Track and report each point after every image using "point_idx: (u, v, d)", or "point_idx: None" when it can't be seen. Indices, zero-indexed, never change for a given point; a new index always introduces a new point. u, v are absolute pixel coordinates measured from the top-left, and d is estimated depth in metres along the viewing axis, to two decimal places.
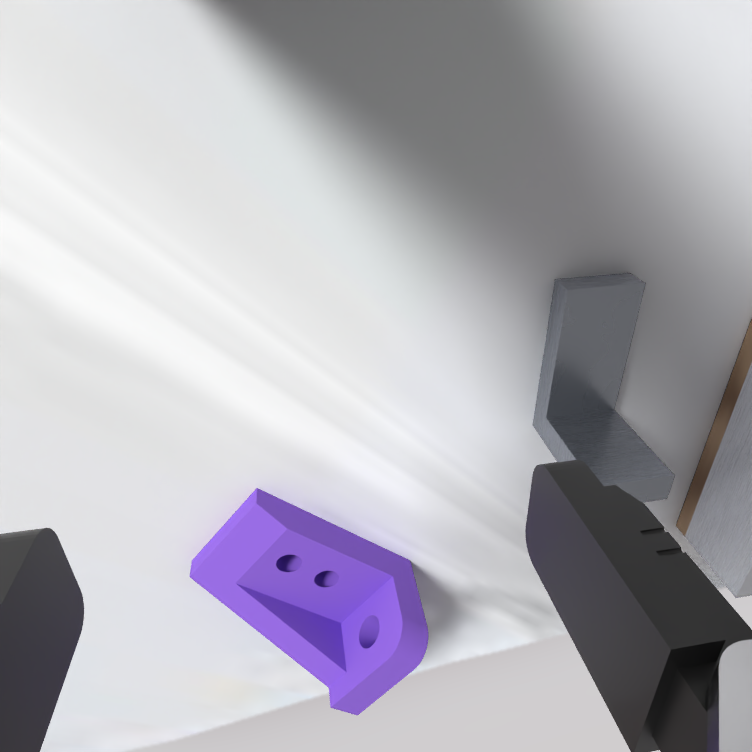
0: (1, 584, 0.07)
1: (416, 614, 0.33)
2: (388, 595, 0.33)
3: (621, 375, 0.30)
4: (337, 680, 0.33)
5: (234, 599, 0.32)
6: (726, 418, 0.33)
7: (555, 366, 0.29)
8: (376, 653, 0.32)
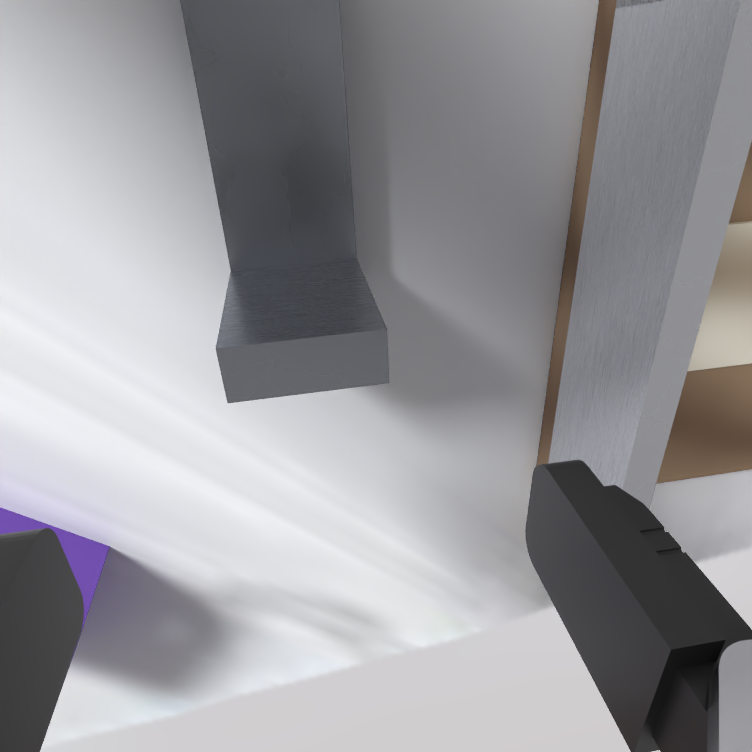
0: (1, 584, 0.07)
1: None
2: None
3: (351, 187, 0.17)
4: None
5: None
6: (569, 295, 0.20)
7: (214, 162, 0.16)
8: None
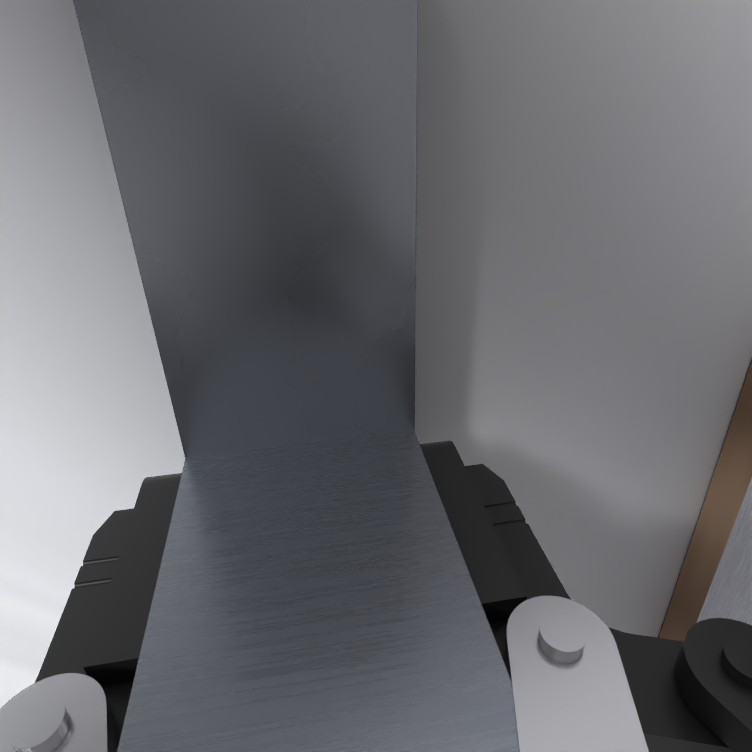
0: (167, 514, 0.08)
1: None
2: None
3: (414, 315, 0.09)
4: None
5: None
6: (747, 463, 0.13)
7: (148, 275, 0.08)
8: None
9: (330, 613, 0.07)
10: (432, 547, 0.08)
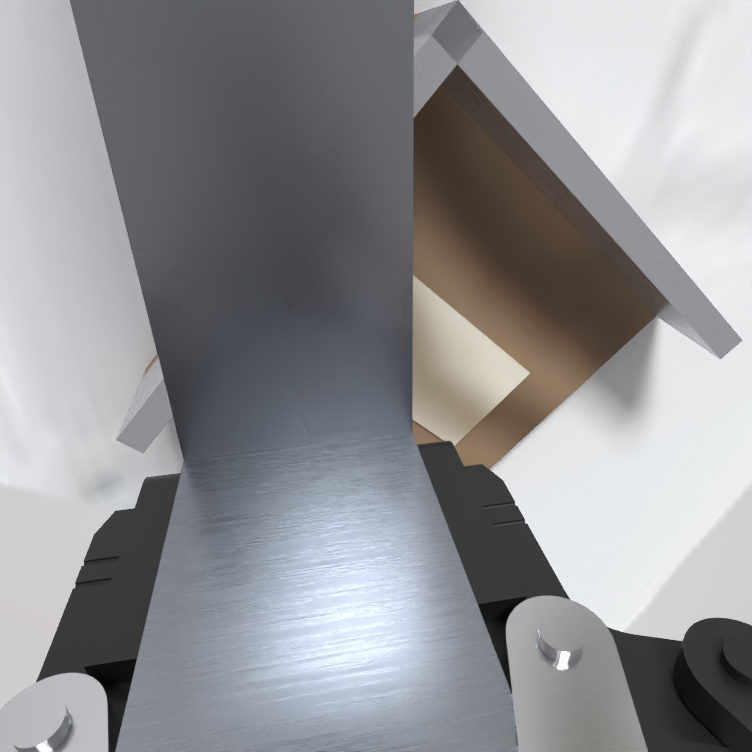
0: (168, 514, 0.08)
1: None
2: None
3: (411, 317, 0.09)
4: None
5: None
6: None
7: (146, 278, 0.08)
8: None
9: (328, 615, 0.07)
10: (429, 548, 0.08)
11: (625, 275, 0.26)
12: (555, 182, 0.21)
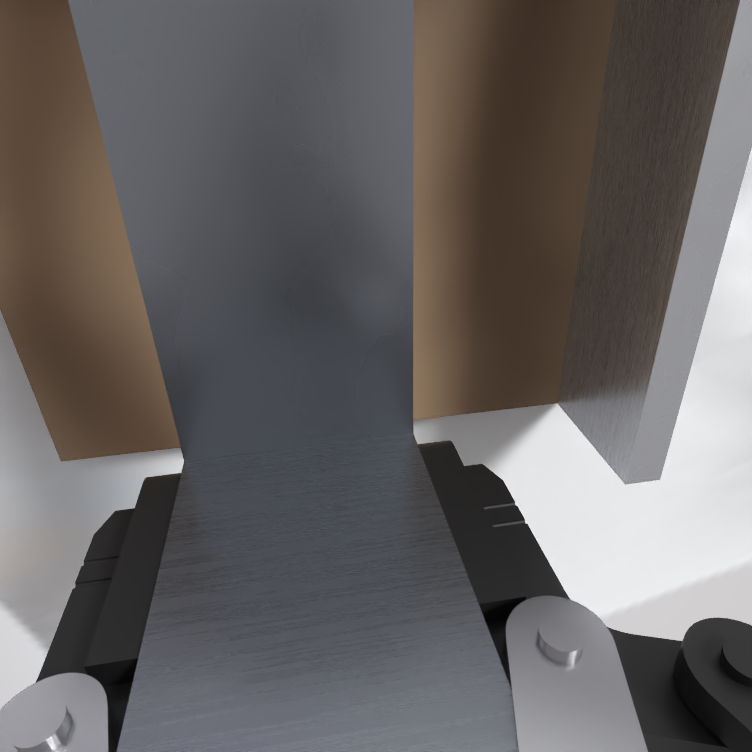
0: (168, 514, 0.08)
1: None
2: None
3: (412, 318, 0.09)
4: None
5: None
6: None
7: (146, 279, 0.08)
8: None
9: (329, 616, 0.07)
10: (431, 549, 0.08)
11: (593, 312, 0.18)
12: (696, 58, 0.13)
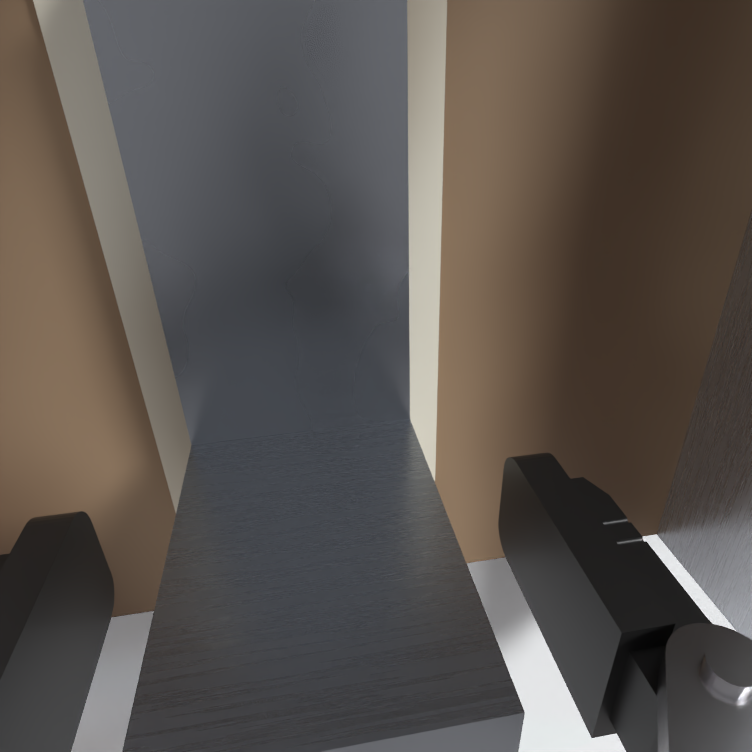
0: (43, 563, 0.08)
1: None
2: None
3: (408, 306, 0.09)
4: None
5: None
6: None
7: (155, 270, 0.08)
8: None
9: (329, 583, 0.07)
10: (425, 524, 0.08)
11: (741, 434, 0.12)
12: None
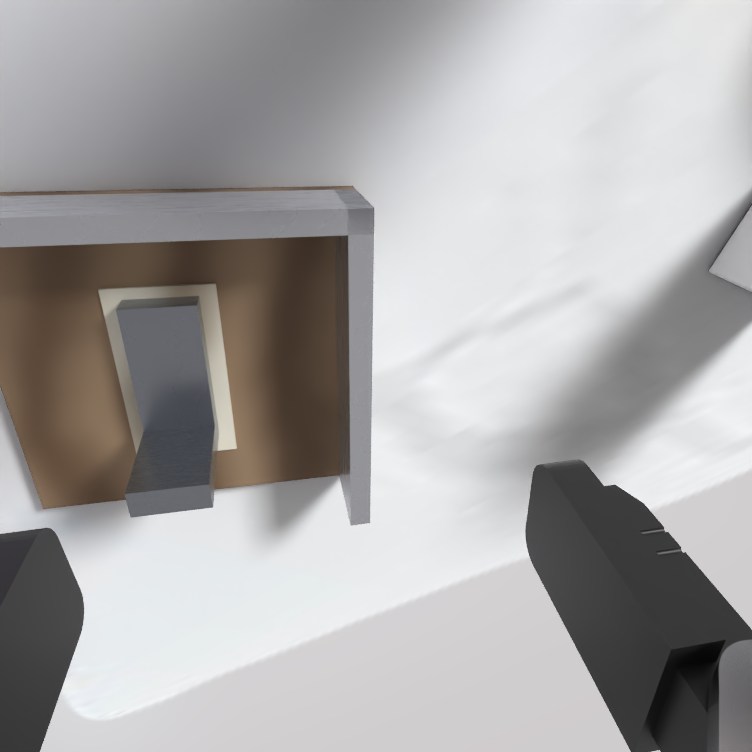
0: (1, 584, 0.07)
1: None
2: None
3: (210, 391, 0.32)
4: None
5: None
6: (158, 191, 0.28)
7: (134, 382, 0.30)
8: None
9: (175, 464, 0.29)
10: (205, 452, 0.30)
11: (341, 433, 0.35)
12: (346, 343, 0.29)
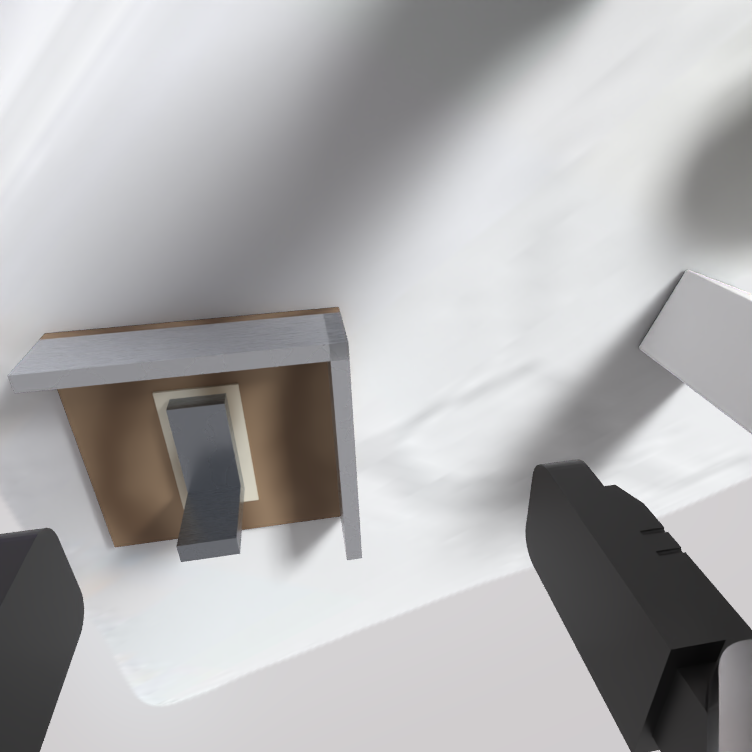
0: (1, 584, 0.07)
1: None
2: None
3: (236, 462, 0.42)
4: None
5: None
6: (193, 324, 0.38)
7: (180, 458, 0.41)
8: None
9: (212, 521, 0.39)
10: (233, 510, 0.40)
11: None
12: (335, 429, 0.39)
